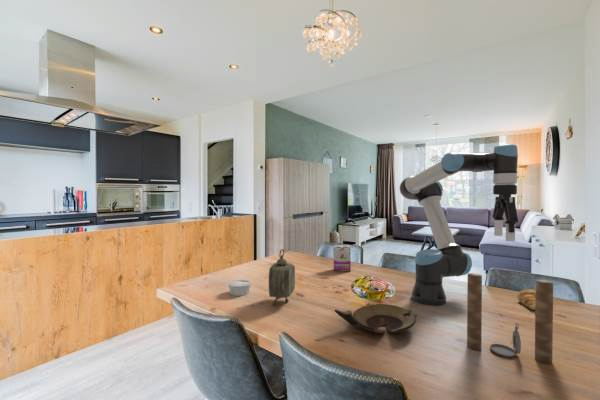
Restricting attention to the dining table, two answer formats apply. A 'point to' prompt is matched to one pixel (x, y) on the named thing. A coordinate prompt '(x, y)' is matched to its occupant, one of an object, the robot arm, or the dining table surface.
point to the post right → (544, 321)
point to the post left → (474, 311)
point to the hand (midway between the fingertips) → (503, 238)
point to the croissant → (527, 298)
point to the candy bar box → (342, 258)
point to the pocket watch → (507, 350)
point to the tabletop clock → (281, 279)
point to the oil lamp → (380, 318)
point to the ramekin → (239, 287)
